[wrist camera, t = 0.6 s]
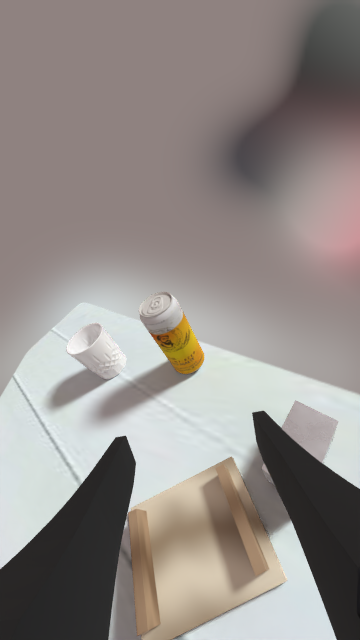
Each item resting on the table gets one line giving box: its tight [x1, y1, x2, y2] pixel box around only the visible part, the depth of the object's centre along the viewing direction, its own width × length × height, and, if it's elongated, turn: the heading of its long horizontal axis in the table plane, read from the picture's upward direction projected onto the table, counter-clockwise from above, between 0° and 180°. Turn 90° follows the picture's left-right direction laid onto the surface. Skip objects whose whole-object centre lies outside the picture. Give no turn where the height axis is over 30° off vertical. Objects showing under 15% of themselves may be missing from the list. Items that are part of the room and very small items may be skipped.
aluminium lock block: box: [261, 400, 338, 486], centre depth 22 cm, size 4×8×6 cm, turn 137°
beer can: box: [139, 292, 204, 374], centre depth 35 cm, size 6×6×15 cm
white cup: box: [66, 323, 126, 379], centre depth 44 cm, size 8×8×10 cm
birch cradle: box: [128, 457, 287, 640], centre depth 21 cm, size 10×14×4 cm
